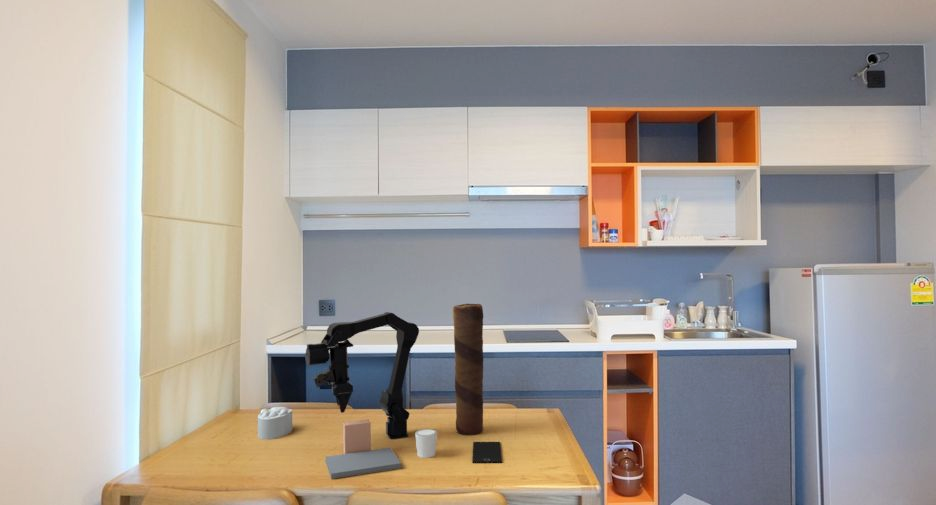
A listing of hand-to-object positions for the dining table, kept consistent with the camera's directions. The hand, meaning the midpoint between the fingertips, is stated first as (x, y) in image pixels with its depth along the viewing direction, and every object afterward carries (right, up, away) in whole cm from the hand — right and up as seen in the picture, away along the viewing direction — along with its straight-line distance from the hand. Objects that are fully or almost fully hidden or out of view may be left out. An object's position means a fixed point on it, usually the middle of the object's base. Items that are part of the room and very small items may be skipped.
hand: (340, 408), depth 180 cm
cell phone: (+48, -12, -9) cm, 50 cm away
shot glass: (+29, -12, -9) cm, 33 cm away
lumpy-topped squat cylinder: (-27, -13, +14) cm, 33 cm away
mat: (+11, -12, -17) cm, 23 cm away
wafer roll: (+43, -12, +13) cm, 46 cm away
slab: (+7, -12, -8) cm, 16 cm away
